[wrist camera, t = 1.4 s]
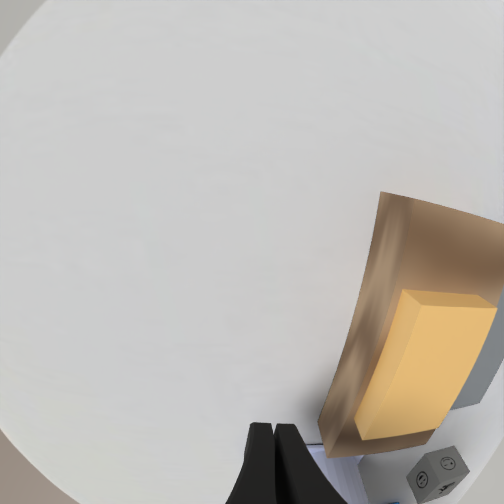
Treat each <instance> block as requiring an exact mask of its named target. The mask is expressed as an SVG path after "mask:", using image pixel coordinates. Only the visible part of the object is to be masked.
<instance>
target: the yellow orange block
mask: <svg viewBox="0 0 504 504" xmlns="http://www.w3.org/2000/svg"><path fill="white" fill-rule="evenodd" d="M497 309H498V308H496V307H495V306H494V305H492V304H491V303H489V302H488V301H486V300H485V299H483V298H482V297H480V296H479V295H470V294H456V293H443V292H431V291H419V290H407V289H402V293H401V296H400V300H399V303H398V306H397V309H396V313H395V316H394V319H393V322H392V325H391V328H390V331H389V334H388V337H387V339H386V342H385V345H384V348H383V350H382V353H381V356H380V358H379V361H378V364H377V366H376V369H375V371H374V374H373V376H372V379H371V381H370V383H369V386H368V388H367V390H366V393H365V395H364V397H363V399H362V402H361V404H360V406H359V408H358V410H357V413H356V415H355V417H354V420H355V423H356V425H357V428H358V431H359V433H360V436H361V438H362V440H370V439H378V438H386V437H393V436H399V435H405V434H411V433H416V432H421V431H426V430H431V429H435V428H438V427H439V426H440V424H441V423H442V421H443V419H444V418H445V416H446V415H447V413H448V411H449V410H450V408H451V406H452V405H453V403H454V401H455V400H456V398H457V396H458V394H459V393H460V391H461V389H462V387H463V385H464V383H465V381H466V380H467V378H468V376H469V374H470V372H471V370H472V368H473V366H474V364H475V362H476V360H477V357H478V355H479V353H480V351H481V349H482V346H483V344H484V342H485V340H486V337H487V335H488V332H489V330H490V327H491V325H492V322H493V320H494V317H495V314H496V312H497Z"/></svg>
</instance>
